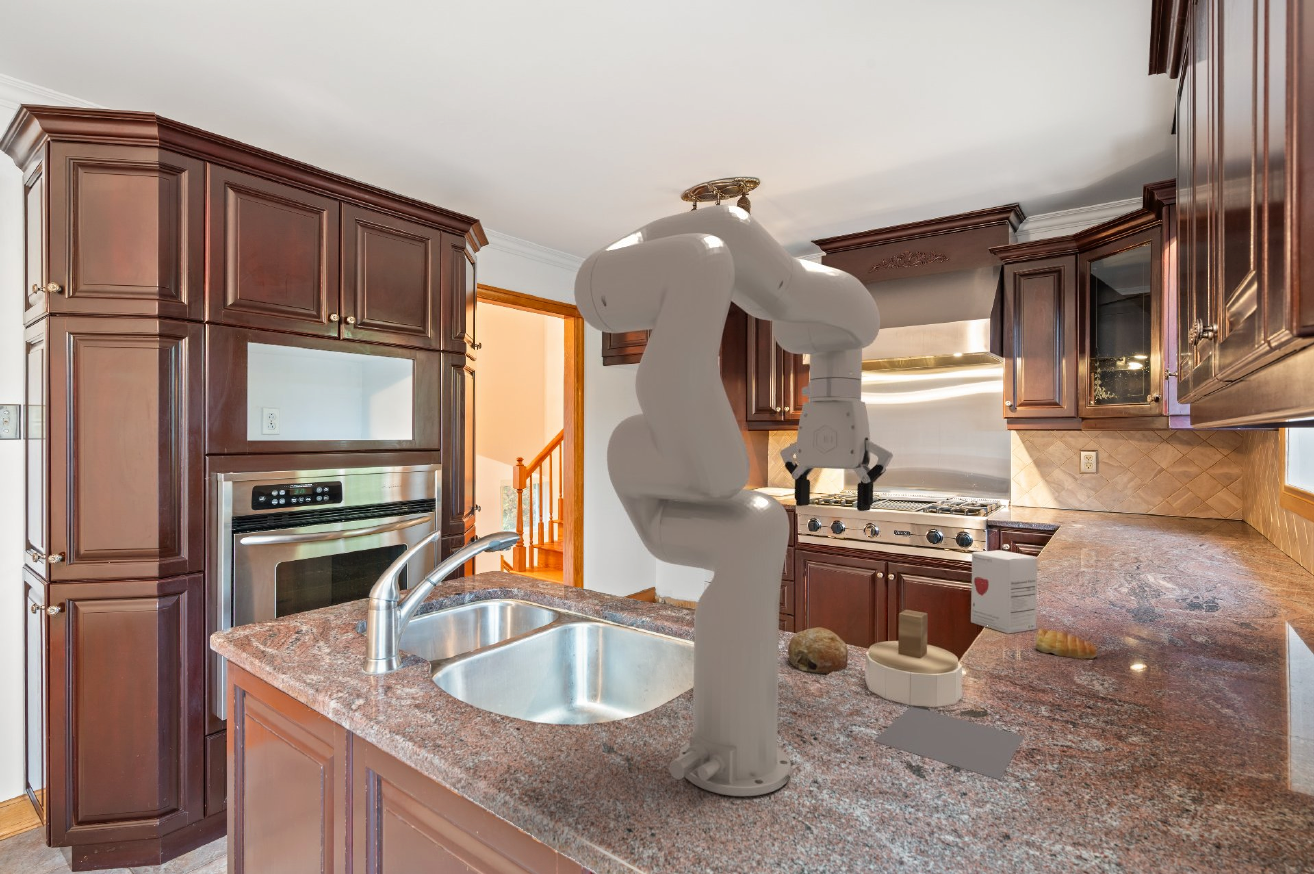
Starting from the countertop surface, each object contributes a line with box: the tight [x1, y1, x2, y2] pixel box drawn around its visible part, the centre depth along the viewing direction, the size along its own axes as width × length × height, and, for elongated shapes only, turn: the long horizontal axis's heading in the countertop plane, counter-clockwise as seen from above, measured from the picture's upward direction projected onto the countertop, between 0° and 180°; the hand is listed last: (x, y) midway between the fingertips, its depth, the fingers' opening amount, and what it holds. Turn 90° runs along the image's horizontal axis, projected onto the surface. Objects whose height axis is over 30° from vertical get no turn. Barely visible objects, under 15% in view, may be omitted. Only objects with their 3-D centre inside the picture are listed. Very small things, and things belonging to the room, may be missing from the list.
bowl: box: [865, 650, 963, 708], centre depth 98 cm, size 13×13×5 cm
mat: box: [873, 705, 1025, 781], centre depth 81 cm, size 14×14×1 cm
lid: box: [868, 609, 959, 674], centre depth 98 cm, size 12×12×7 cm
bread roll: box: [787, 626, 849, 675], centre depth 109 cm, size 10×10×8 cm
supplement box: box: [970, 549, 1039, 635], centre depth 135 cm, size 9×9×15 cm
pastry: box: [1034, 628, 1098, 660], centre depth 118 cm, size 9×7×4 cm
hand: (832, 507), depth 97 cm, fingers open, 9 cm apart
